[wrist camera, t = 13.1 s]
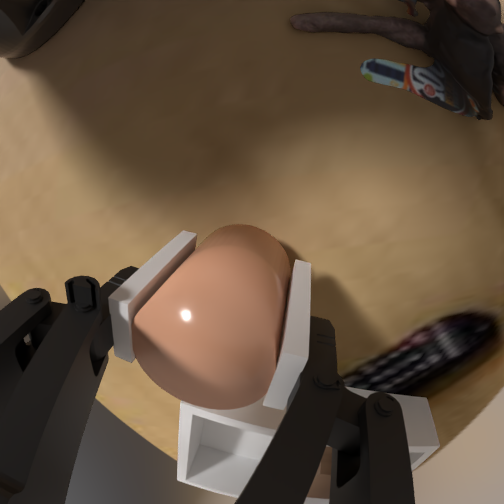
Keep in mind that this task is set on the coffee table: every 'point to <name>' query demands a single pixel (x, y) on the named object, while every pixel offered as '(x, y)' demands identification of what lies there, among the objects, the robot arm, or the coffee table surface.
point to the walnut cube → (322, 477)
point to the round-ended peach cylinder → (217, 321)
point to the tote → (266, 441)
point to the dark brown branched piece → (434, 51)
